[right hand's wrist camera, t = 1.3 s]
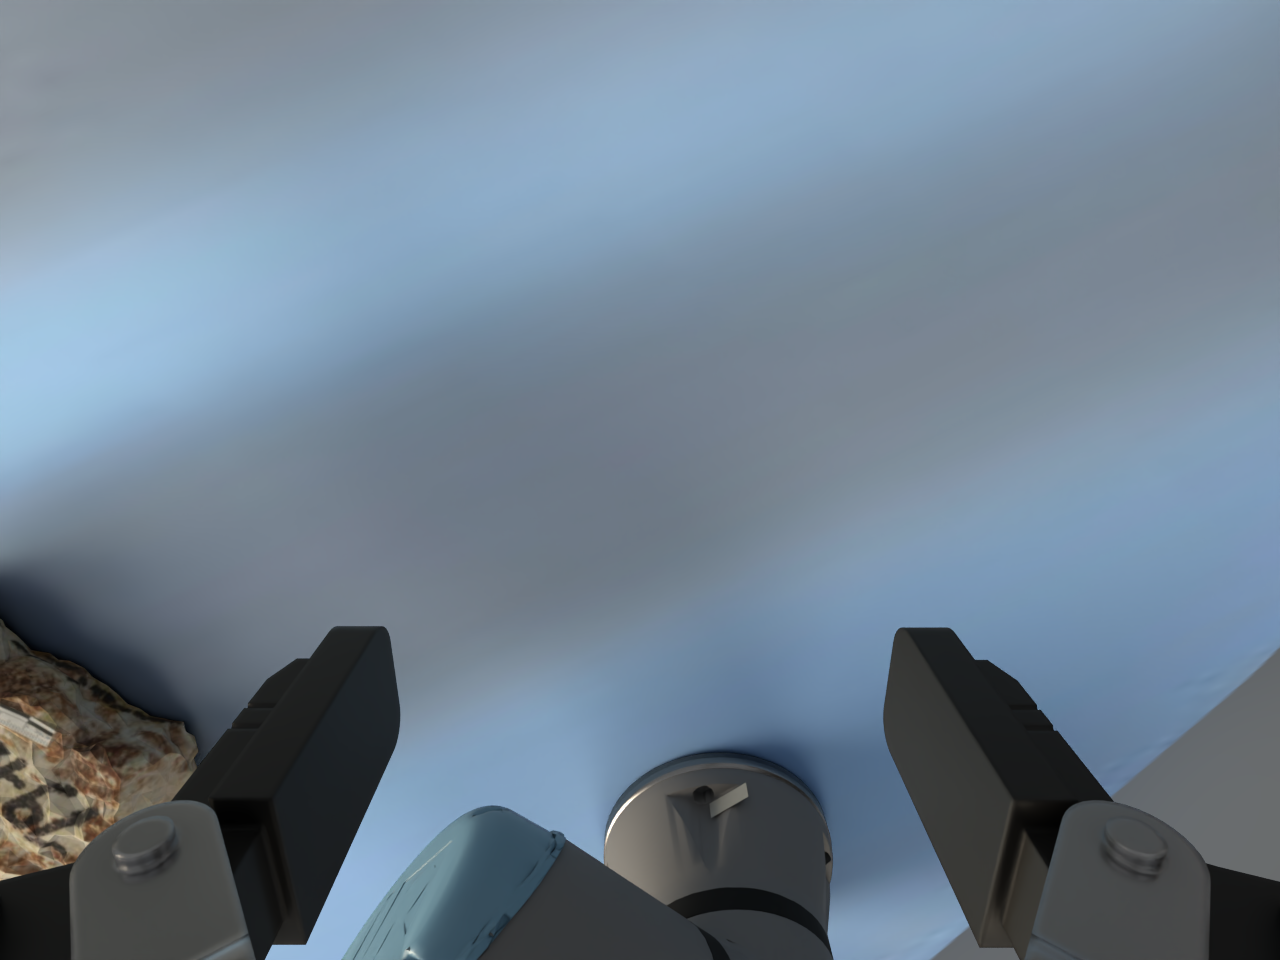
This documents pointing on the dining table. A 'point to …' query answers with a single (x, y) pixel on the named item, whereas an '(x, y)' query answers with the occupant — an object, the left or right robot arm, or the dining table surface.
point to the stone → (74, 758)
